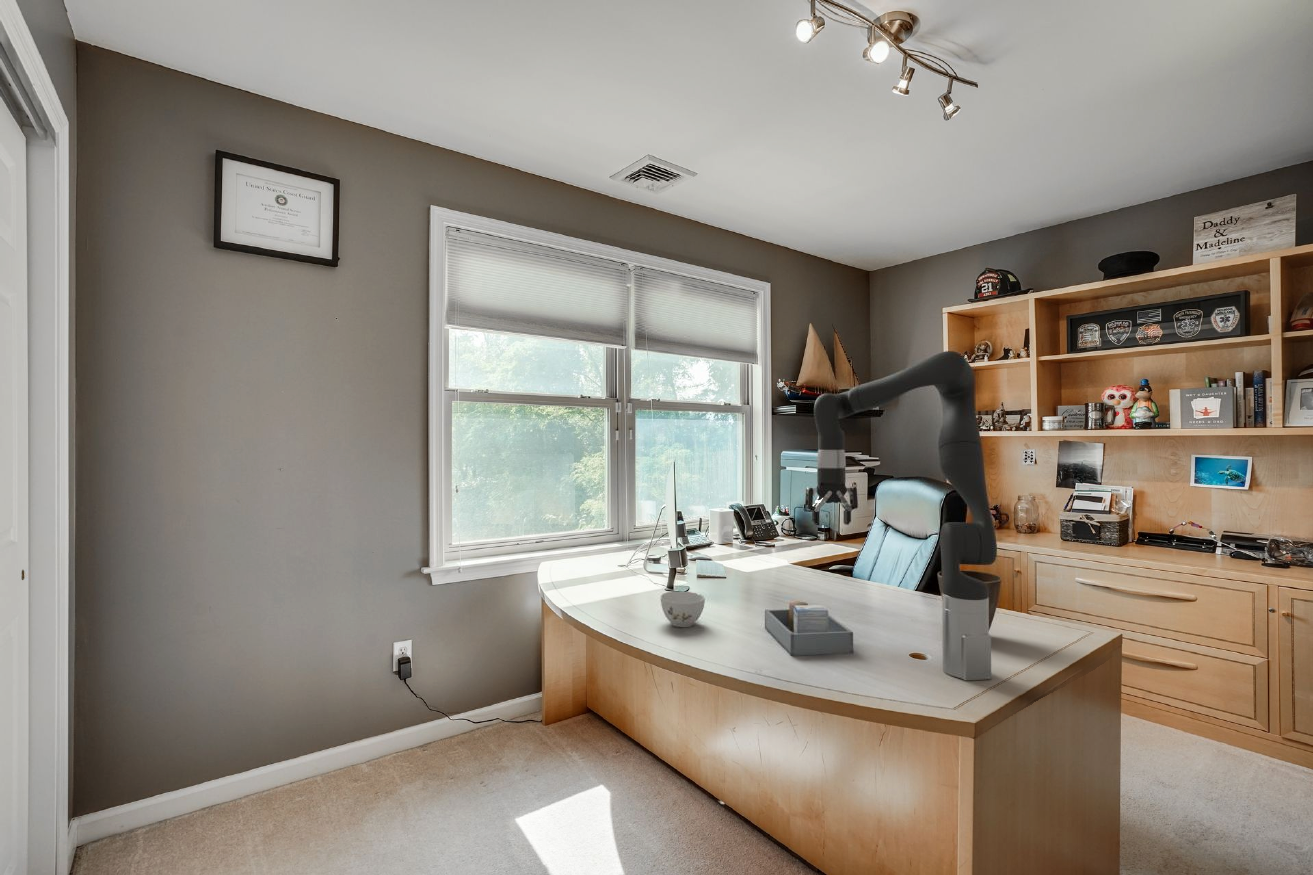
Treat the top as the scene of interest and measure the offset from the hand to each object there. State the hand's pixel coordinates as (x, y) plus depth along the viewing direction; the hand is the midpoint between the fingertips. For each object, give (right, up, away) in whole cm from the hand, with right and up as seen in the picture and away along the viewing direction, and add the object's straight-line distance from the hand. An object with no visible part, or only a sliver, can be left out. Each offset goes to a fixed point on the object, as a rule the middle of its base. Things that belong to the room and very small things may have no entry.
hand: (831, 524), depth 172 cm
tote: (-10, -28, -11) cm, 32 cm away
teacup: (-41, -29, +3) cm, 50 cm away
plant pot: (+33, -28, -9) cm, 45 cm away
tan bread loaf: (-10, -28, -5) cm, 30 cm away
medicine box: (-9, -28, -14) cm, 33 cm away
